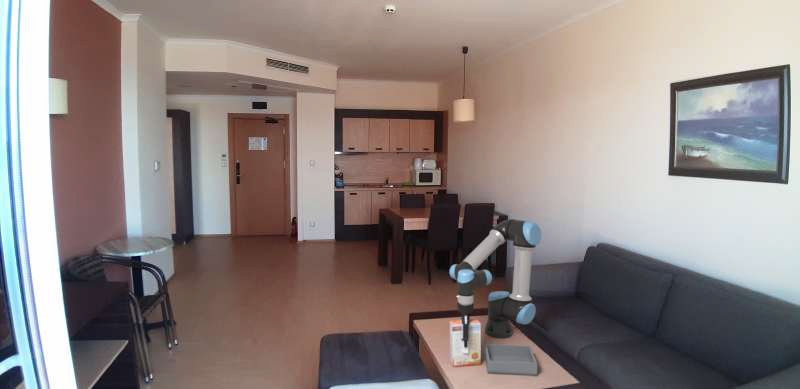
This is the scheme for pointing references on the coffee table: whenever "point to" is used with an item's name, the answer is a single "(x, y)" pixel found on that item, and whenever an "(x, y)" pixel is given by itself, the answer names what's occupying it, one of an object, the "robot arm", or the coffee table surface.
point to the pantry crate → (510, 360)
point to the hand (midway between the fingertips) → (465, 349)
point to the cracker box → (457, 344)
